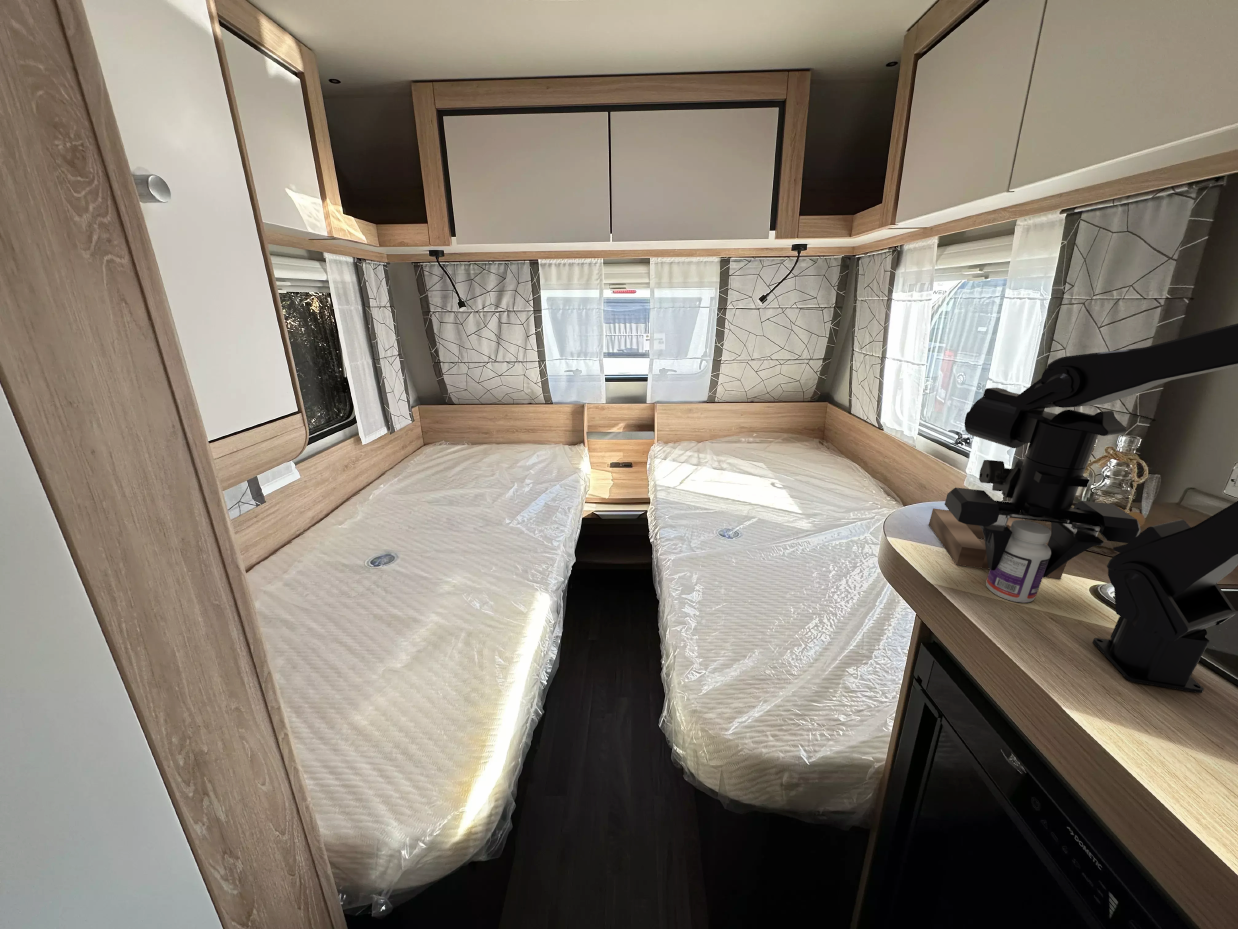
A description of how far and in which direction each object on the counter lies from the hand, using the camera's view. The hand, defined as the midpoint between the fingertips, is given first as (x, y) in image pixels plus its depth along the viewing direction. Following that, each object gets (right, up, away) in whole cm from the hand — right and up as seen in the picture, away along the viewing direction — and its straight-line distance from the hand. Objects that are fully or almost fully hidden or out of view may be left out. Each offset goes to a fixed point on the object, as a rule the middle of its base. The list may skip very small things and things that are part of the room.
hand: (1015, 572), depth 67 cm
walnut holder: (+5, +1, +11) cm, 13 cm away
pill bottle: (0, -3, +1) cm, 3 cm away
